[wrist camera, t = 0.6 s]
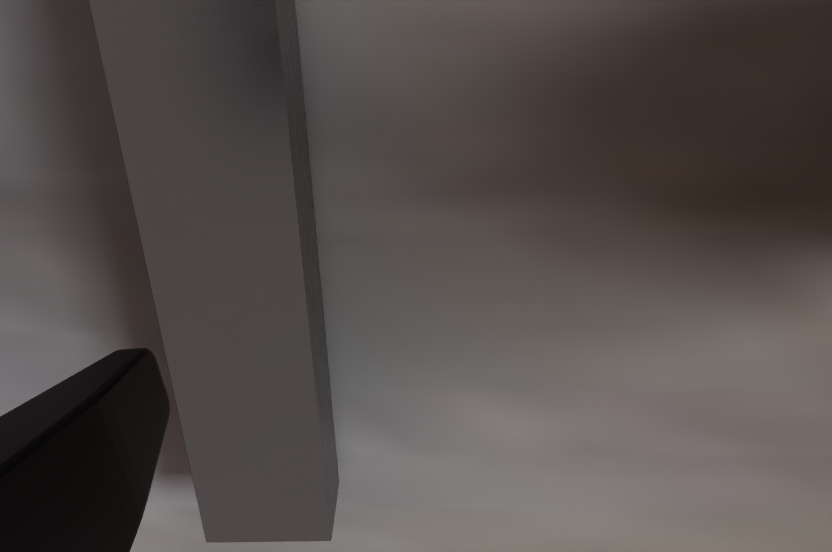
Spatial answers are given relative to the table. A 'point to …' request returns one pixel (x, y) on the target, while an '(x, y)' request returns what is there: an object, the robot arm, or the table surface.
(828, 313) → the table surface
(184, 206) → the link
